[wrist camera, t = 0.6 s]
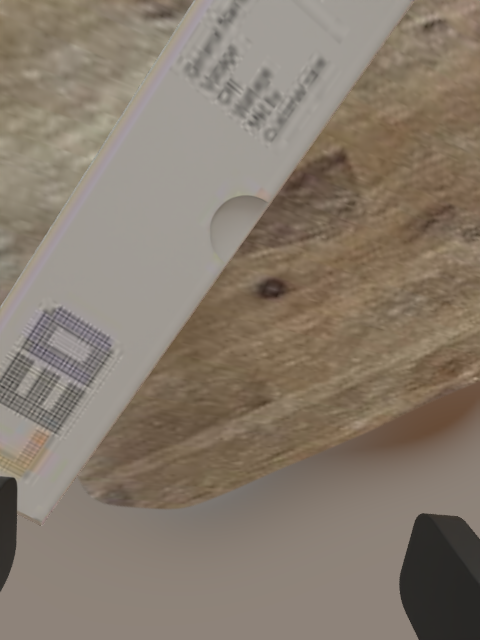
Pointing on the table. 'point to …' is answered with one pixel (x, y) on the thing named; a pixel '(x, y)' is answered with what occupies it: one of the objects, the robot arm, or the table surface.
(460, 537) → the robot arm
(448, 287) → the table surface
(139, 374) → the packaging
